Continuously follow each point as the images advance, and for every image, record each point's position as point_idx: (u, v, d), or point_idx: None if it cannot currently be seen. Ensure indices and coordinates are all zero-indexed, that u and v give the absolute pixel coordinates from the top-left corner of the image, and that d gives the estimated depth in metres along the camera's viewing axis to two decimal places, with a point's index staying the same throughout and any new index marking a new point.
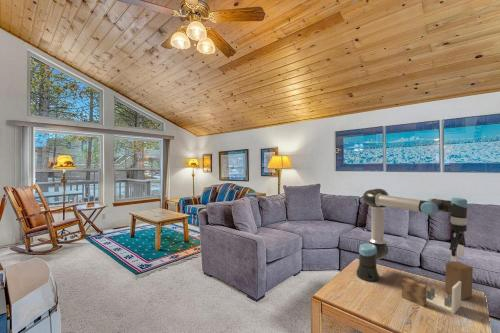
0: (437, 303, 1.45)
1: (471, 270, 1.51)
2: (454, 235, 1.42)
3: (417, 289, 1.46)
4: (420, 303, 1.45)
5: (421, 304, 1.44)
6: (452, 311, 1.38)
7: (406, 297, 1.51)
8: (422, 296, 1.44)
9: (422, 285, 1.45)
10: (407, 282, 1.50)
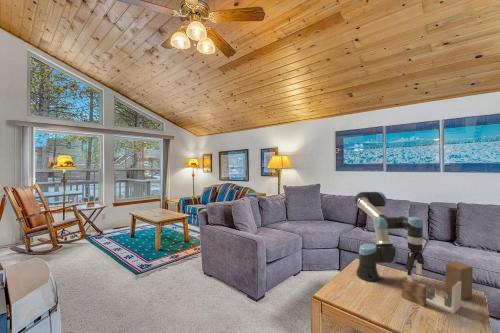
0: (437, 303, 1.45)
1: (471, 270, 1.51)
2: (410, 254, 1.44)
3: (417, 289, 1.46)
4: (420, 303, 1.45)
5: (421, 304, 1.44)
6: (452, 311, 1.38)
7: (406, 297, 1.51)
8: (422, 296, 1.44)
9: (422, 285, 1.45)
10: (407, 282, 1.50)
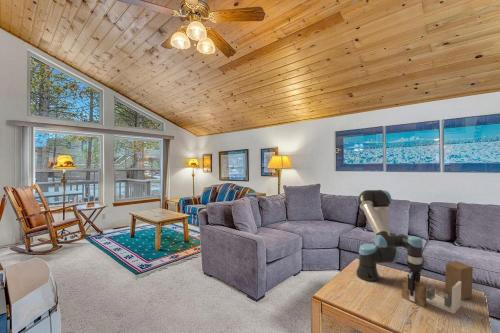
0: (437, 303, 1.45)
1: (471, 270, 1.51)
2: (409, 277, 1.45)
3: (417, 289, 1.46)
4: (420, 303, 1.45)
5: (421, 304, 1.44)
6: (452, 311, 1.38)
7: (406, 297, 1.51)
8: (422, 296, 1.44)
9: (422, 285, 1.45)
10: (407, 282, 1.50)
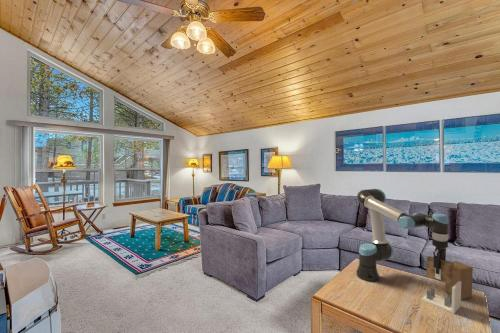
0: (437, 303, 1.45)
1: (471, 270, 1.51)
2: (435, 254, 1.42)
3: (443, 266, 1.43)
4: (447, 281, 1.42)
5: (448, 282, 1.41)
6: (452, 311, 1.38)
7: (431, 276, 1.48)
8: (449, 273, 1.41)
9: (449, 262, 1.42)
10: (432, 260, 1.47)
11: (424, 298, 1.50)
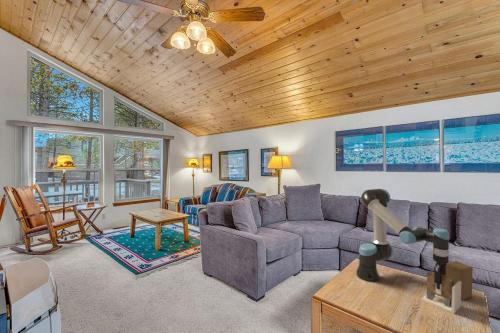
0: (437, 303, 1.45)
1: (471, 270, 1.51)
2: (436, 269, 1.43)
3: (444, 282, 1.44)
4: (447, 296, 1.42)
5: (448, 297, 1.42)
6: (452, 311, 1.38)
7: (432, 290, 1.49)
8: (449, 289, 1.41)
9: (449, 278, 1.43)
10: (433, 275, 1.48)
11: (424, 298, 1.50)
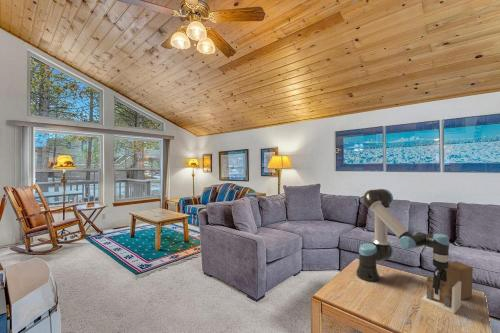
0: (437, 303, 1.45)
1: (471, 270, 1.51)
2: (436, 273, 1.43)
3: (443, 288, 1.44)
4: None
5: None
6: (452, 311, 1.38)
7: None
8: (449, 295, 1.42)
9: (449, 284, 1.43)
10: None
11: (424, 298, 1.50)
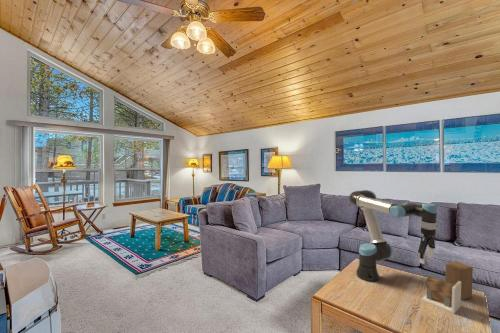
0: (437, 303, 1.45)
1: (471, 270, 1.51)
2: (423, 238, 1.49)
3: (443, 288, 1.44)
4: None
5: None
6: (452, 311, 1.38)
7: None
8: (449, 295, 1.42)
9: (449, 284, 1.43)
10: (433, 281, 1.48)
11: (424, 298, 1.50)
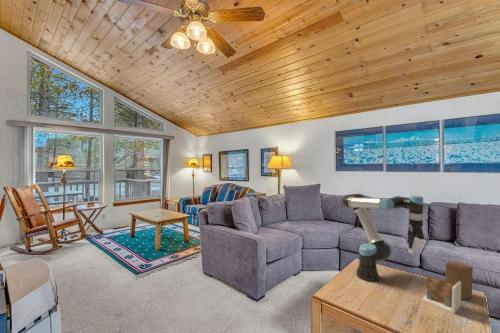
0: (437, 303, 1.45)
1: (471, 270, 1.51)
2: (411, 229, 1.56)
3: (443, 288, 1.44)
4: None
5: None
6: (452, 311, 1.38)
7: None
8: (449, 295, 1.42)
9: (449, 284, 1.43)
10: (433, 281, 1.48)
11: (424, 298, 1.50)
